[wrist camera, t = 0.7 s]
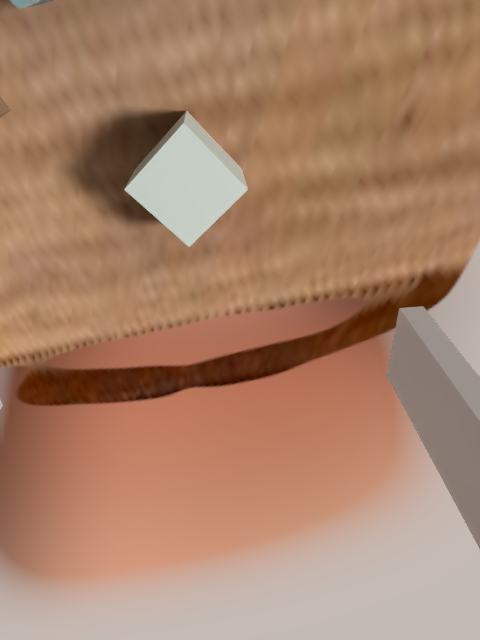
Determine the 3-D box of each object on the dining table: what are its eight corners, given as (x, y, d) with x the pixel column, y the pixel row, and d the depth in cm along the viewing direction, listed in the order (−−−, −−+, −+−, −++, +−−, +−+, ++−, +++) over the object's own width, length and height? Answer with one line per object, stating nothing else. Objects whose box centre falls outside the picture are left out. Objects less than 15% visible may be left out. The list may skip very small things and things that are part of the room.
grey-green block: (135, 168, 36) (124, 189, 31) (186, 110, 34) (183, 122, 29) (191, 219, 38) (189, 246, 33) (241, 168, 36) (247, 189, 31)
